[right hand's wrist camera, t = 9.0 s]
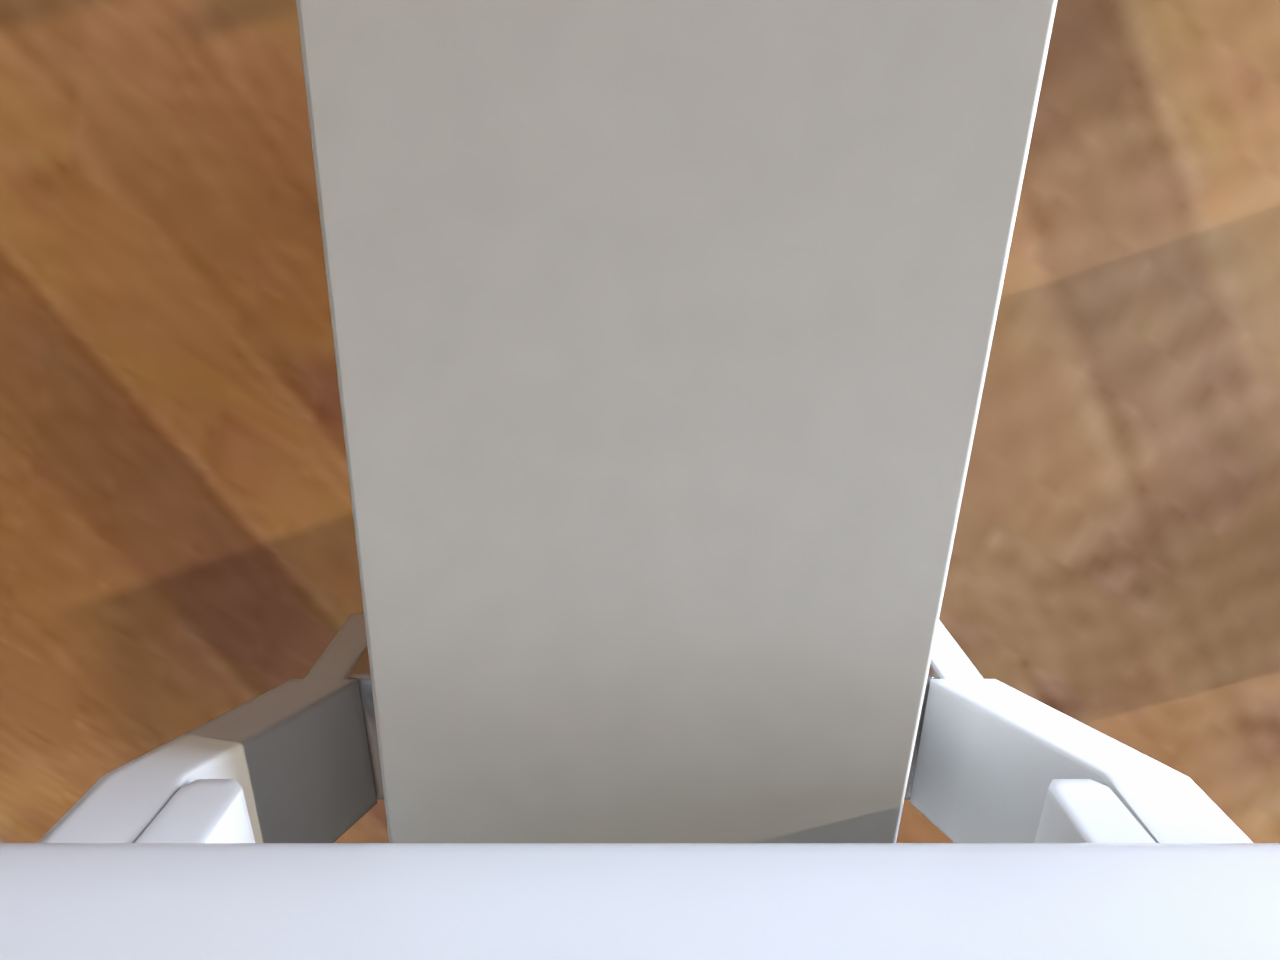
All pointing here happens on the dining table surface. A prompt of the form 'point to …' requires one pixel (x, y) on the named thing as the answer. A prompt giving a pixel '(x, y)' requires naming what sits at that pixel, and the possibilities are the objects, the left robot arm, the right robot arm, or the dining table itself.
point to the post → (660, 393)
